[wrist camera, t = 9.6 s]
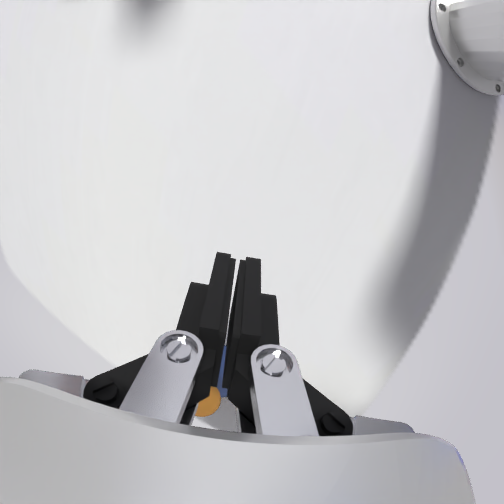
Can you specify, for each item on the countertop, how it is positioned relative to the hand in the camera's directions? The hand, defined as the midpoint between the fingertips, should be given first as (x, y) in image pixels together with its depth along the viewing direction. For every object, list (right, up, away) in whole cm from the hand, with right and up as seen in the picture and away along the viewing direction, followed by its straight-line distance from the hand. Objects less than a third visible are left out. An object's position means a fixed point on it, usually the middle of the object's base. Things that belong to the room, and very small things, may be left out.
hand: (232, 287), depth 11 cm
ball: (-6, -19, +25) cm, 32 cm away
